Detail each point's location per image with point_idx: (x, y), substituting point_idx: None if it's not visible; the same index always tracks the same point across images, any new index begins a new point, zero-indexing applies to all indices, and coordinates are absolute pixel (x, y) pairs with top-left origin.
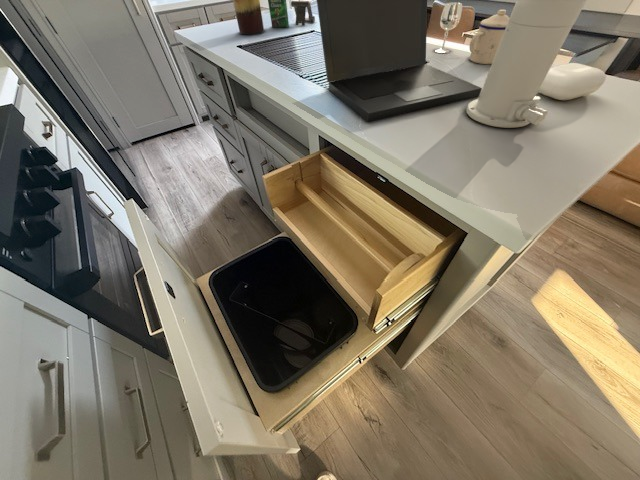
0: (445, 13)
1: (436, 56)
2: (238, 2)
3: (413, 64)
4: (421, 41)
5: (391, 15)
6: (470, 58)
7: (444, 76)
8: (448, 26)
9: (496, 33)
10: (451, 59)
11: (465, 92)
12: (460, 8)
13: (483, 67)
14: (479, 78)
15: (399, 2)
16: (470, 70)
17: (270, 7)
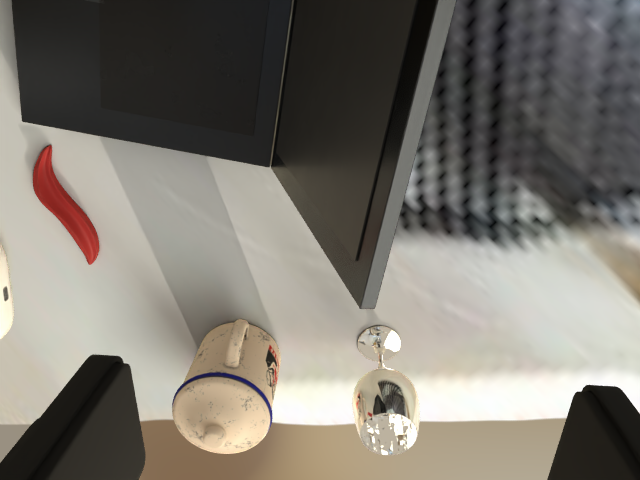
0: (389, 390)
1: None
2: None
3: (278, 120)
4: (288, 170)
5: (338, 45)
6: (262, 330)
7: (141, 113)
8: (367, 373)
9: (192, 374)
10: (303, 303)
11: (18, 61)
12: (356, 426)
13: (199, 306)
14: (138, 229)
15: (344, 99)
16: (199, 263)
17: None
